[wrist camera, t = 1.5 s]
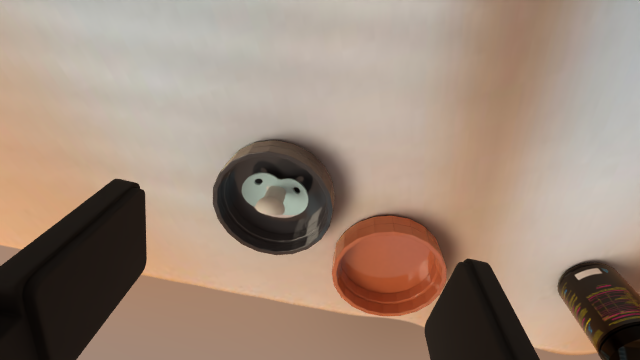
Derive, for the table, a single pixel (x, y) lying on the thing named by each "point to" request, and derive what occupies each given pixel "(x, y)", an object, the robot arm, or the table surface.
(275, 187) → the pacifier
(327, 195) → the charcoal bowl
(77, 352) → the robot arm
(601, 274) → the supplement container
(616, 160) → the table surface
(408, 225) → the terracotta bowl
